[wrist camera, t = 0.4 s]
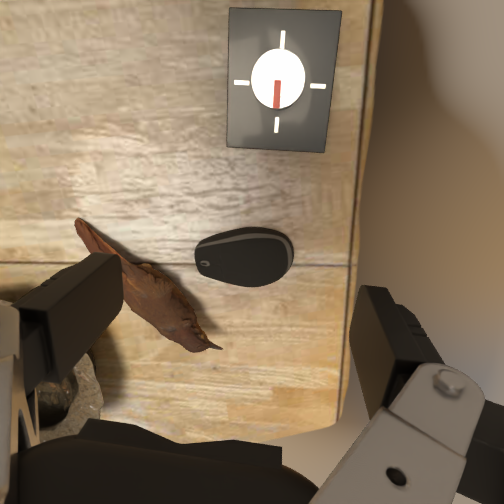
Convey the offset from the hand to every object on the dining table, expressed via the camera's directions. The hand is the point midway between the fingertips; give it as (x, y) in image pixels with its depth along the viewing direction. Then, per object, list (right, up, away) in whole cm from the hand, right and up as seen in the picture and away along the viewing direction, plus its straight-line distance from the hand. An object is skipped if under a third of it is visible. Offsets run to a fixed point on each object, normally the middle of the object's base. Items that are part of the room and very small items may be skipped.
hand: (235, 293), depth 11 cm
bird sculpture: (-13, -2, +34) cm, 36 cm away
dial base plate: (+4, +18, +23) cm, 30 cm away
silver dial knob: (+3, +17, +21) cm, 27 cm away
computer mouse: (0, +1, +31) cm, 31 cm away
